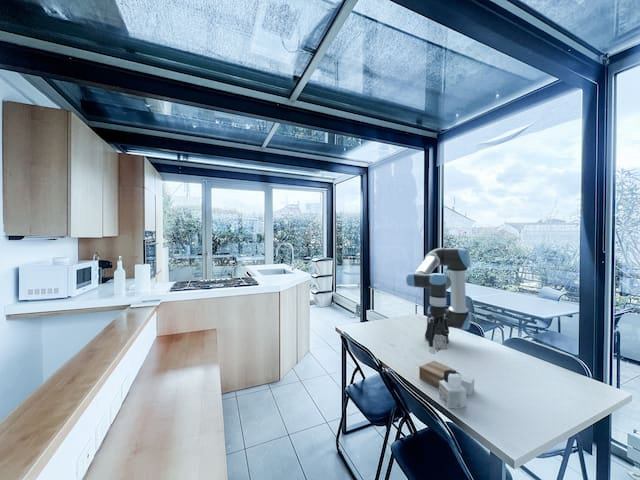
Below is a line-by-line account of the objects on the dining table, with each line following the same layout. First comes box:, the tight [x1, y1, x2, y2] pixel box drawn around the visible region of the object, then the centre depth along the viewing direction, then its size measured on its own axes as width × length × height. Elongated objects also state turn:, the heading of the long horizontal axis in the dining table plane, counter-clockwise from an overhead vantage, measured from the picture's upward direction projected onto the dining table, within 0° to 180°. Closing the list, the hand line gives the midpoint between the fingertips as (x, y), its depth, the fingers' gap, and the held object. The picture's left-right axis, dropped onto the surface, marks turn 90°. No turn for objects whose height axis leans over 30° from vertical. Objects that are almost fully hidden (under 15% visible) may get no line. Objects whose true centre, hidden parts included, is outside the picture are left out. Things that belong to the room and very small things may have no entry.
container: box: [438, 370, 467, 409], centre depth 112 cm, size 8×8×13 cm
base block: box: [418, 360, 457, 390], centre depth 129 cm, size 12×12×6 cm
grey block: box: [459, 373, 475, 397], centre depth 120 cm, size 6×6×6 cm
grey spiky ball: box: [434, 333, 448, 353], centre depth 129 cm, size 9×8×10 cm
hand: (437, 350), depth 129 cm, fingers closed on grey spiky ball, 8 cm apart
